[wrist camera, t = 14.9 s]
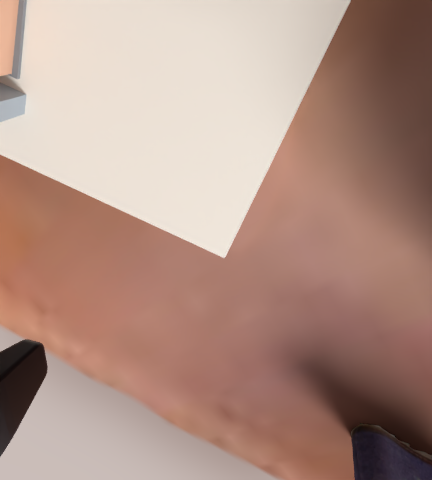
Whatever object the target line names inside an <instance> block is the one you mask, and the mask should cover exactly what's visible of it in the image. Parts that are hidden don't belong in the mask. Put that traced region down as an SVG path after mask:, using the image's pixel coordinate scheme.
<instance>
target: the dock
mask: <svg viewBox="0 0 432 480" xmlns="http://www.w3.org/2000/svg"><path fill="white" fill-rule="evenodd" d="M350 1H351V0H19V5H18V15H17V25H16V35H15V46H14V56H13V66H12V74H8V75H3V76H0V154H1V155H3V156H5V157H7V158H9V159H11V160H14V161H16V162H18V163H20V164H22V165H24V166H26V167H29V168H31V169H33V170H35V171H37V172H39V173H42V174H44V175H46V176H48V177H50V178H52V179H55V180H57V181H59V182H61V183H63V184H65V185H68V186H70V187H72V188H74V189H76V190H78V191H80V192H83V193H85V194H87V195H89V196H91V197H93V198H96V199H98V200H100V201H102V202H104V203H106V204H109V205H111V206H113V207H115V208H117V209H119V210H122V211H124V212H126V213H128V214H130V215H132V216H134V217H137V218H139V219H141V220H143V221H145V222H147V223H150V224H152V225H154V226H156V227H158V228H160V229H163V230H165V231H167V232H169V233H171V234H173V235H176V236H178V237H180V238H182V239H184V240H186V241H188V242H191V243H193V244H195V245H197V246H199V247H201V248H204V249H206V250H208V251H210V252H212V253H214V254H217V255H219V256H221V257H223V258H225V256H226V254H227V252H228V250H229V248H230V246H231V244H232V242H233V240H234V238H235V236H236V234H237V232H238V230H239V228H240V226H241V224H242V222H243V220H244V218H245V216H246V213H247V211H248V209H249V207H250V205H251V203H252V201H253V199H254V197H255V195H256V193H257V191H258V189H259V187H260V185H261V183H262V181H263V179H264V177H265V175H266V173H267V171H268V169H269V166H270V164H271V162H272V160H273V158H274V156H275V154H276V152H277V150H278V148H279V146H280V144H281V142H282V140H283V138H284V136H285V134H286V132H287V130H288V128H289V126H290V124H291V122H292V119H293V117H294V115H295V113H296V111H297V109H298V107H299V105H300V103H301V101H302V99H303V97H304V95H305V93H306V91H307V89H308V87H309V85H310V83H311V81H312V79H313V77H314V75H315V73H316V70H317V68H318V66H319V64H320V62H321V60H322V58H323V56H324V54H325V52H326V50H327V48H328V46H329V44H330V42H331V40H332V38H333V36H334V34H335V32H336V30H337V28H338V26H339V23H340V21H341V19H342V17H343V15H344V13H345V11H346V9H347V7H348V5H349V3H350Z"/></svg>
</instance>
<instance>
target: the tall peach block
mask: <svg viewBox="0 0 432 480" xmlns="http://www.w3.org/2000/svg"><path fill="white" fill-rule="evenodd" d="M18 5H19V0H0V76H3V75H8V74H12V66H13V56H14V46H15V35H16V25H17V15H18Z"/></svg>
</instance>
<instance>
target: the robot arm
mask: <svg viewBox="0 0 432 480" xmlns="http://www.w3.org/2000/svg"><path fill="white" fill-rule="evenodd" d="M46 373H47V361H46V356H45V350H44V346H43V344H42V343H40V342H36V341H32V340H27V339H26V340H22V341H20V342H18V343H16V344H14V345H12V346H11V347H9V348H7V349H5V350H3V351H1V352H0V456H1V455H2V453H3V452H4V450H5V449H6V447H7V446H8V444H9V443H10V441H11V439H12V438H13V436H14V434H15V432H16V431H17V429H18V427H19V425H20V423H21V421H22V419H23V418H24V415H25V414H26V412H27V410H28V408H29V406H30V404H31V403H32V401H33V399H34V397H35V395H36V393H37V391H38V390H39V388H40V386H41V384H42V382H43V380H44V378H45V376H46Z"/></svg>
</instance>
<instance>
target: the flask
mask: <svg viewBox="0 0 432 480" xmlns="http://www.w3.org/2000/svg"><path fill="white" fill-rule="evenodd" d="M351 438H352V446H353V461H354V477H355V480H432V455H429V454H427V453H426V452H422V451H417V450H413V449H412V448H410V447H409V443H405V442H400V441H399V440H397V439H396V437H395V436H394V435H392V434H390V433H388V432H387V431H385V430H384V429H382V428H381V427H380V426H378V425H369V424H362V423H360V425H359V426H357V427H355V428H354V429H352V432H351Z"/></svg>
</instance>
